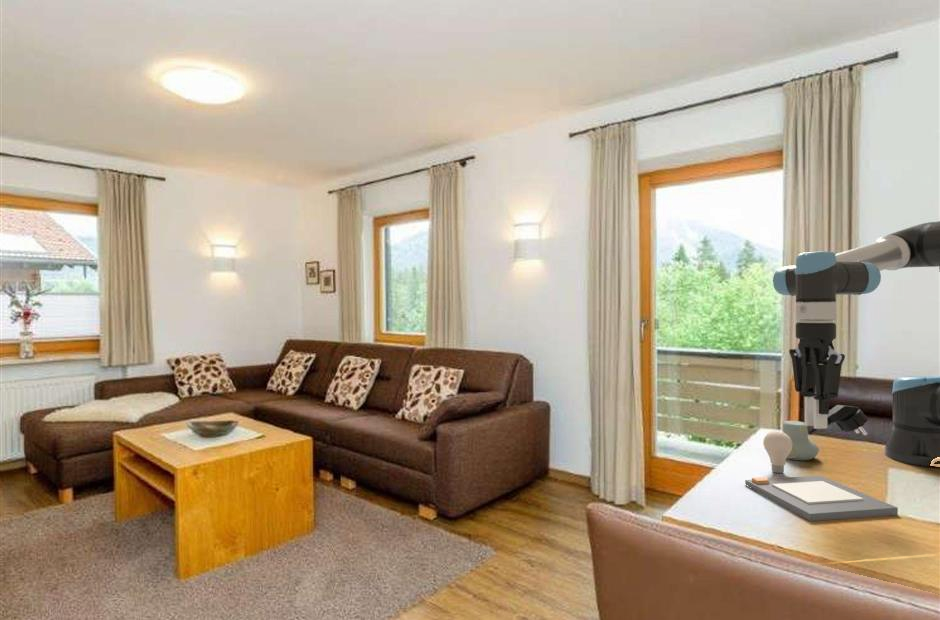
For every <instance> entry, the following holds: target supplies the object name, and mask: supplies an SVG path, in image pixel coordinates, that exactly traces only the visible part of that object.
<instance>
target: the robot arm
mask: <svg viewBox="0 0 940 620" xmlns="http://www.w3.org/2000/svg"><path fill="white" fill-rule="evenodd" d="M925 267H926V268H928V267H935V268H936V267H938V268H939V271H940V221H939V220H938V221H931V222H930V221H928V222H924V223H919V224H917V225H913V226H910V227H907V228H904V229H901V230H898V231H896V232H895V231H894V232H893V233H889V234H885V235H882V236H881V237H879V238H877V239H876V240H875V241H874V242H872V243H869V244H866V245H862V246H858V247H855V248H853V249H848V250H845V251H842V252H838V253H835V252H833V251H827V250H826V251H810V252H808V251H807V252H802V253H801V252H800V253H799V254H798V255H796V258H795V265H788V266H783V267H782V266H781V267H780V268H778V269H776V271H774V273H773V276H772V285H773V288H774V290H775V292H777V293H778V294H780V295H782V296H790V297H794V296H795V319H796V320H797V321H798V322H796V323H795V338H796V339H798V340H799V342H798V344H797V347H796V348H792V349H791V348H790V349H789V350H788V351H789V352H788V353H789V356H790V358H791V364H792V371H793V381H794V388H795V391H796V392H799V393H800V394H801V396H802V398H803V399H802V408H803V410H804V423H805V426H808V427H813V428H815V429H818V430H821V429H828V426H827V414H828V413H829V411H830V400H831V399H836V398H838V396H839V390H840V389H839V388H840V380H841V373H842V365H843V362H844V361H845V358H846V357H845V356H846V355H845V354H843V353H838V352H837V351H835V347H834V343H833V341H834V340H836V339H837V324H836V323H835V322H834V321H836V320H837V296H838V295H839V296H841V295H842V296H843V295H844V296H845V295H846V296H847V295H855V296H857V295H858V296H860V295H866V294H871V293H872V292H874V291H875V290H877V289H878V287H879V285H880V283H881V280H882V275H881V271H884V270H887V271H897V270H900V269H907V268H925ZM892 383H893V384H892V391H891V394H892V429H891V431H890V434H889V437H888V439H887V442H886V444H885V446H884V455H885V457H887V458H889V459H890V460H893V461H897V462H900V463H905V464H909V465H914V466H919V465H921V467H926V466H930V464H931V461H932V460H933V459H935V458H937V457H940V375H921V376H920V375H915V376H900V377H896V378H895V379H894V380H893V382H892ZM934 464H940V461H937V462H935V463H934Z"/></svg>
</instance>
